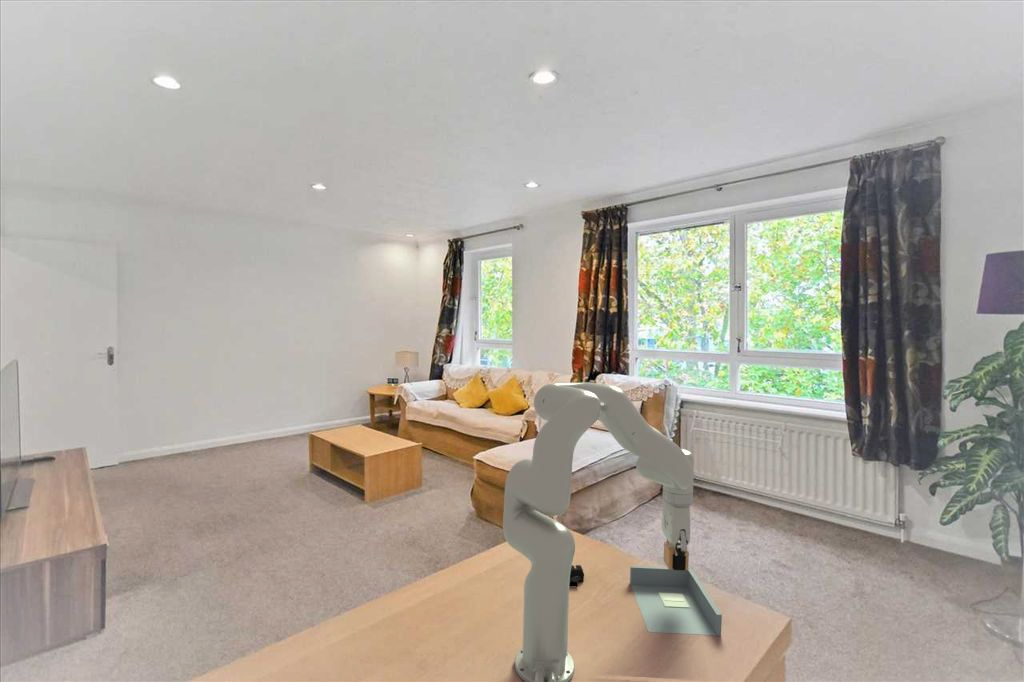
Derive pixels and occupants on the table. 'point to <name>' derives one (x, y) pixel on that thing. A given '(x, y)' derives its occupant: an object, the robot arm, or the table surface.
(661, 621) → the grey blue tray
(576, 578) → the black hollow angular block
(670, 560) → the cube
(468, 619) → the table surface
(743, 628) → the table surface
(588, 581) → the table surface
